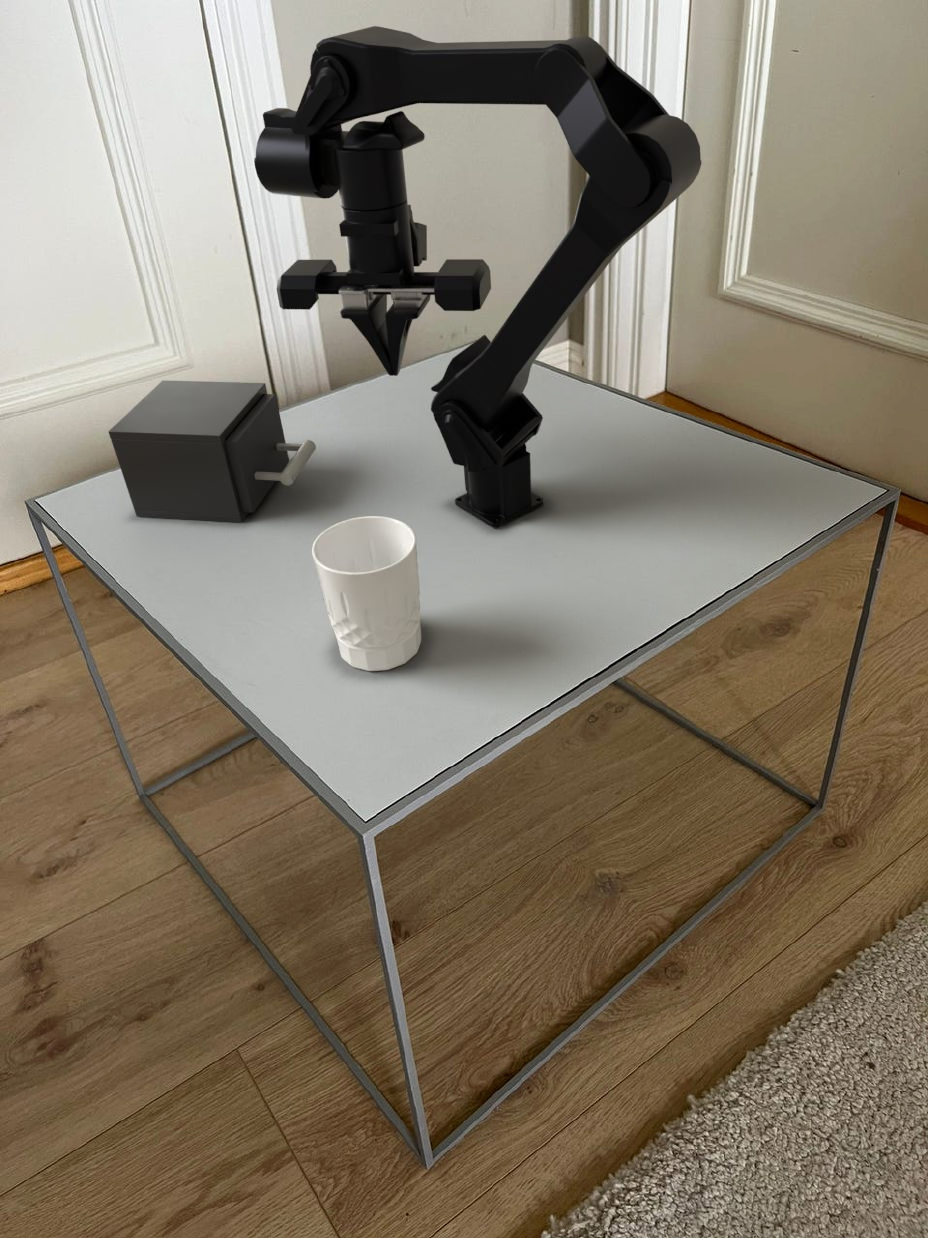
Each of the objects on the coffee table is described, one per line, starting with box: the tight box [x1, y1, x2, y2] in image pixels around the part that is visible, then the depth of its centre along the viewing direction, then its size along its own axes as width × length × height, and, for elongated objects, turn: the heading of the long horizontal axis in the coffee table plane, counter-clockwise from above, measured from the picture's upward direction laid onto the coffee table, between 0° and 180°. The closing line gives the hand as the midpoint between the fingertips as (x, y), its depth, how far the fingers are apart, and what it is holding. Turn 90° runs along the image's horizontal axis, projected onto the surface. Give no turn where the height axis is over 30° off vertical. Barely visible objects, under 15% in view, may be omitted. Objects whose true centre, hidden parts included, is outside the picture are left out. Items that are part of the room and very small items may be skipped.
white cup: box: [311, 515, 422, 672], centre depth 74 cm, size 8×8×10 cm
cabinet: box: [108, 379, 268, 524], centre depth 97 cm, size 12×12×10 cm
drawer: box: [225, 393, 317, 513], centre depth 96 cm, size 15×10×8 cm
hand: (394, 373), depth 91 cm, fingers closed
